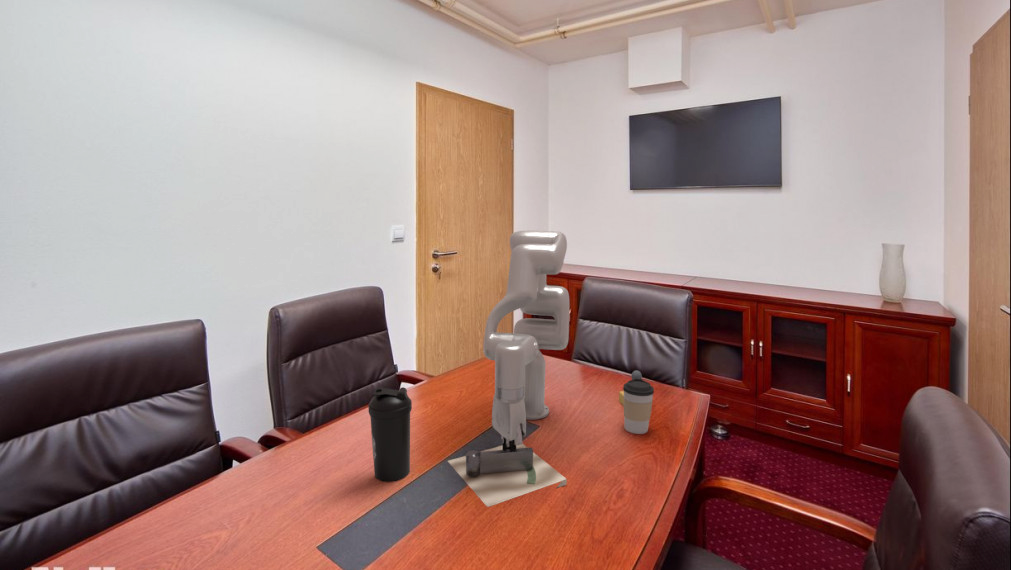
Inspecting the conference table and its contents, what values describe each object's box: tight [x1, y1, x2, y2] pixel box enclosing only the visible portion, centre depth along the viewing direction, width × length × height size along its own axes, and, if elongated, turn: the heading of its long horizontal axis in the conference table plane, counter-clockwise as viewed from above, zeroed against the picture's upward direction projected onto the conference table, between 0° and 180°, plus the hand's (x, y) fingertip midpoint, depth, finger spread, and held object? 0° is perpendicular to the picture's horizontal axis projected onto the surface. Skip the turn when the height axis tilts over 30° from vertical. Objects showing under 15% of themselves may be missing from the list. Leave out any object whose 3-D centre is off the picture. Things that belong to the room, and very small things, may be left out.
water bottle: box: [367, 386, 413, 483], centre depth 116 cm, size 10×10×23 cm
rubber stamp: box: [618, 370, 653, 407], centre depth 163 cm, size 10×6×12 cm, turn 100°
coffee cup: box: [622, 378, 655, 435], centre depth 144 cm, size 9×9×15 cm
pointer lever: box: [465, 447, 534, 477], centre depth 118 cm, size 17×4×5 cm, turn 101°
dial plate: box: [447, 443, 568, 508], centre depth 119 cm, size 22×22×2 cm
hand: (509, 457), depth 122 cm, fingers closed
